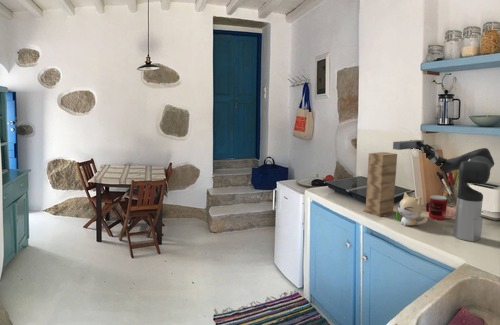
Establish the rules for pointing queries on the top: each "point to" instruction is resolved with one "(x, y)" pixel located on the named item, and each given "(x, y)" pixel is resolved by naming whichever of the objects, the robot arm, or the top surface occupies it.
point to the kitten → (410, 210)
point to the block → (406, 144)
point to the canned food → (437, 207)
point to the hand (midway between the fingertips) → (414, 141)
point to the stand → (381, 183)
